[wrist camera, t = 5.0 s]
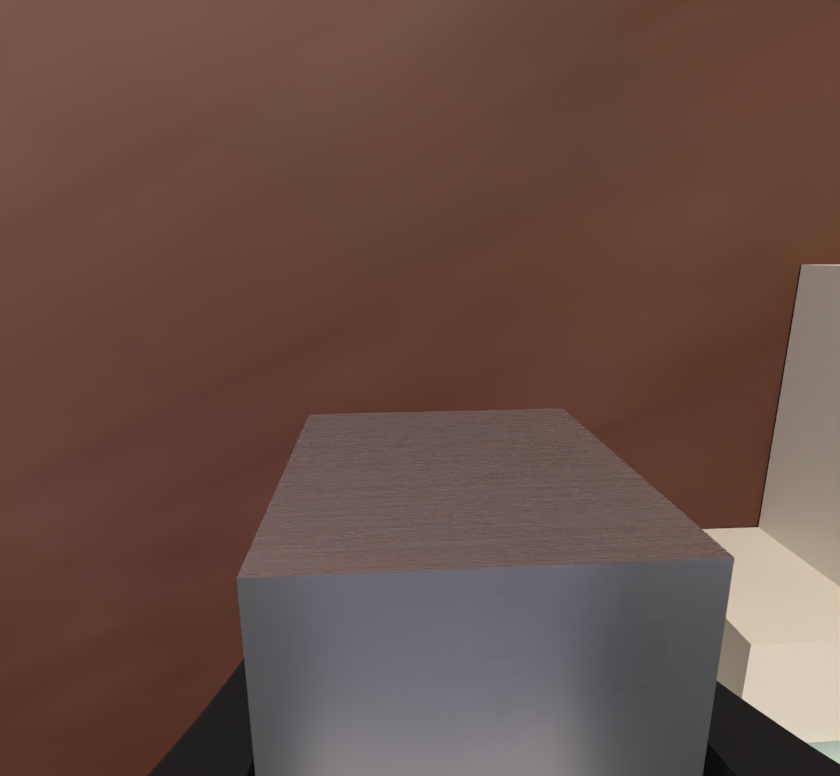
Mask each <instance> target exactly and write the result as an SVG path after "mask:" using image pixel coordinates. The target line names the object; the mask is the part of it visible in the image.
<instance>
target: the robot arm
mask: <svg viewBox="0 0 840 776" xmlns="http://www.w3.org/2000/svg"><path fill="white" fill-rule="evenodd" d="M148 776H255V768H254V757H253V747H252V736H251V725H250V715H249V704H248V694H247V683H246V672H245V662H244V659H243V660H242V662H241V663H240V664H239V666H238V667H237V668H236V670H235V671H234V672H233V674H232V675H231V676H230V678H229V679H228V680H227V682H226V683H225V684H224V685H223V687H222V688H221V689H220V690H219V692H218V693H217V694H216V695H215V697H214V698H213V699H212V700H211V702H210V703H209V704H208V706H207V707H206V708H205V709H204V711H203V712H202V713H201V714H200V716H199V717H198V718H197V719H196V721H195V722H194V723H193V724H192V725H191V727H190V728H189V729H188V730H187V731H186V732H185V734H184V735H183V736H182V737H181V738H180V739H179V740H178V742H177V743H176V744H175V745H174V746H173V747H172V748H171V750H170V751H169V752H168V753H167V754H166V755H165V756H164V758H163V759H162V760H161V761H160V762H159V763H158V764H157V766H156V767H155V768H154V769H153V770H152V771H151V772H150V774H149V775H148ZM703 776H840V764H839V763H837V762H836V761H834V760H832V759H831V758H829V757H828V756H826V755H824V754H823V753H821V752H820V751H818V750H817V749H815V748H814V747H812V746H810V745H809V744H807V743H806V742H804V741H803V740H801V739H800V738H798V737H797V736H795V735H794V734H792V733H791V732H789V731H788V730H786V729H785V728H783V727H782V726H781V725H779V724H778V723H776V722H775V721H773V720H772V719H770V718H769V717H767V716H766V715H764V714H763V713H761V712H760V711H758V710H757V709H756V708H754V707H753V706H751V705H750V704H749V703H747V702H746V701H744V700H743V699H742V698H740V697H739V696H737V695H736V694H735V693H733V692H732V691H730V690H729V689H728V688H726V687H725V686H724V685H722V684H721V683H719V682H718V681H716V687H715V694H714V701H713V708H712V715H711V722H710V728H709V735H708V742H707V749H706V756H705V762H704V769H703Z"/></svg>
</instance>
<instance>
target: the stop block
mask: <svg viewBox="0 0 840 776" xmlns="http://www.w3.org/2000/svg"><path fill="white" fill-rule="evenodd" d="M733 565H734V557H733V556H732V555H731V554H730V553H729V552H728V551H726V550H725V549H724V548H723V547H722V546H721V545H719V544H718V543H717V542H716V541H715V540H714V539H713V538H711V537H710V536H709V535H708V534H707V533H706V532H704V531H703V530H702V529H701V528H700V527H699V526H698V525H696V524H695V523H694V522H693V521H692V520H691V519H689V518H688V517H687V516H686V515H685V514H684V513H683V512H681V511H680V510H679V509H678V508H677V507H676V506H674V505H673V504H672V503H671V502H670V501H669V500H668V499H666V498H665V497H664V496H663V495H662V494H661V493H659V492H658V491H657V490H656V489H655V488H654V487H653V486H651V485H650V484H649V483H648V482H647V481H646V480H645V479H643V478H642V477H641V476H640V475H639V474H638V473H636V472H635V471H634V470H633V469H632V468H631V467H630V466H628V465H627V464H626V463H625V462H624V461H623V460H621V459H620V458H619V457H618V456H617V455H616V454H615V453H613V452H612V451H611V450H610V449H609V448H608V447H606V446H605V445H604V444H603V443H602V442H601V441H600V440H598V439H597V438H596V437H595V436H594V435H593V434H591V433H590V432H589V431H588V430H587V429H586V428H585V427H583V426H582V425H581V424H580V423H579V422H578V421H576V420H575V419H574V418H573V417H572V416H571V415H570V414H568V413H567V412H566V411H565V410H564V409H563V408H561V409H518V410H475V411H433V412H390V413H347V414H309V416H308V418H307V421H306V423H305V425H304V427H303V430H302V432H301V434H300V436H299V439H298V441H297V443H296V445H295V448H294V450H293V452H292V455H291V457H290V459H289V461H288V464H287V466H286V468H285V470H284V473H283V475H282V477H281V479H280V482H279V484H278V486H277V488H276V491H275V493H274V495H273V497H272V500H271V502H270V504H269V506H268V509H267V511H266V513H265V515H264V518H263V520H262V522H261V525H260V527H259V529H258V531H257V534H256V536H255V538H254V540H253V543H252V545H251V547H250V549H249V552H248V554H247V556H246V558H245V561H244V563H243V565H242V567H241V570H240V572H239V574H238V576H237V588H238V598H239V609H240V619H241V630H242V641H243V651H244V662H245V672H246V683H247V694H248V704H249V715H250V725H251V736H252V747H253V757H254V768H255V776H703V769H704V762H705V756H706V749H707V742H708V735H709V728H710V722H711V715H712V708H713V701H714V694H715V687H716V681H717V674H718V667H719V660H720V653H721V646H722V640H723V633H724V626H725V619H726V612H727V606H728V599H729V592H730V585H731V578H732V571H733Z"/></svg>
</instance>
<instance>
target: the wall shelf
mask: <svg viewBox="0 0 840 776" xmlns="http://www.w3.org/2000/svg"><path fill="white" fill-rule="evenodd" d="M702 530H703V531H704V532H706V533H707V534H708V535H709V536H710V537H711V538H713V539H714V540H715V541H716V542H717V543H718V544H719V545H721V546H722V547H723V548H724V549H725V550H726V551H728V552H729V553H730V554H731V555H732V556H733V557H734V565H733V571H732V578H731V585H730V592H729V599H728V606H727V612H726V619H725V626H724V633H723V640H722V646H721V653H720V660H719V667H718V674H717V681H718V682H719V683H721V684H722V685H724V686H725V687H726V688H728V689H729V690H730V691H732V692H733V693H735V694H736V695H737V696H739V697H740V698H742V699H743V700H744V701H746V702H747V703H749V704H750V705H751V706H753V707H754V708H756V709H757V710H758V711H760V712H761V713H763V714H764V715H766V716H767V717H769V718H770V719H772V720H773V721H775V722H776V723H778V724H779V725H781V726H782V727H783V728H785V729H786V730H788V731H789V732H791V733H792V734H794V735H795V736H797V737H798V738H800V739H801V740H803V741H804V742H806V743H810V742H826V741H840V265H801V272H800V278H799V284H798V290H797V296H796V302H795V308H794V314H793V320H792V326H791V332H790V338H789V344H788V350H787V356H786V362H785V369H784V375H783V381H782V387H781V393H780V399H779V405H778V411H777V417H776V423H775V429H774V435H773V441H772V447H771V453H770V460H769V466H768V472H767V478H766V484H765V490H764V496H763V502H762V508H761V514H760V520H759V526H758V527H753V528H723V529H702Z"/></svg>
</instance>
